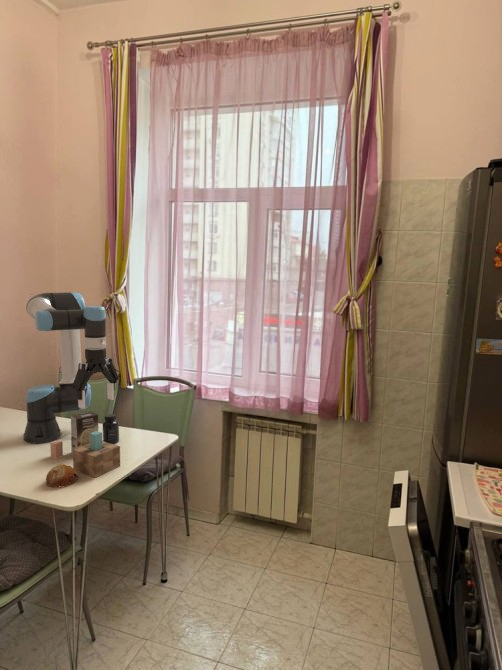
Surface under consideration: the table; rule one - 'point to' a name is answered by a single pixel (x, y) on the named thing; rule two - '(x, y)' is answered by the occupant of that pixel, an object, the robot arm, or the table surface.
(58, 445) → the short peg
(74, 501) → the table surface
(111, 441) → the supplement bottle
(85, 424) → the coffee box
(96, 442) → the long peg
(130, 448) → the table surface
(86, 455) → the hole block
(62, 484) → the bread roll
